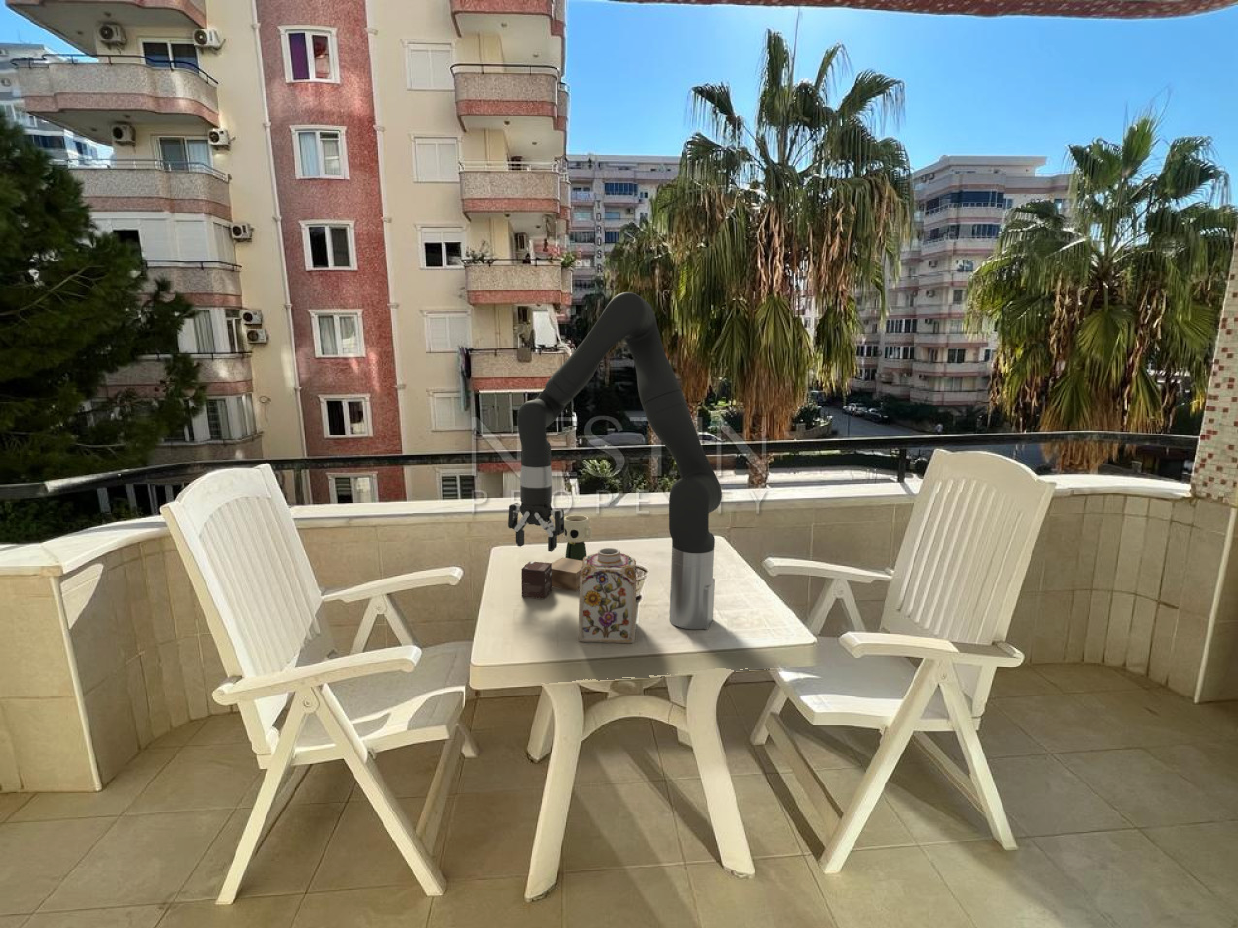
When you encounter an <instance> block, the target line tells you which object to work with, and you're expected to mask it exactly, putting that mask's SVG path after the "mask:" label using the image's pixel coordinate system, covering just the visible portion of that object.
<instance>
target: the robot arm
mask: <svg viewBox="0 0 1238 928" xmlns="http://www.w3.org/2000/svg"><path fill="white" fill-rule="evenodd" d="M623 339H624V342H625V343H626V346H627V348H628V350H629V352H630V354H631V357H632V359H633V363H634V366H635V372H636V381H637V390H638V395H639V396H638V397H639V400H640V403H641V406H642V409H643V411H644V414H645V418H646V419H647V423H648V424H649V426H650V428H651V430H652V431H653V433H655V436H657V438H658V439H659V440H660V441H661V444H663V445H664V446H665V448H666V449H667V451H668V452H669V453H670V455H671V456H672V458H673V460H674V461H675V465H676V466H677V469H678V472H679V475H680V478H679V479H678V480H676V481H675V482H674V483H673V485H672V487H671V488H670V492H669V498H668V529H669V535H670V537H671V565H670V567H671V569H670V591H669V592H670V593H669V594H670V595H669V613H668V614H669V619H668V620H669V621H670V623H671V624H672V625H674V626H675V627H679V628H682V629H687V630H700V629H701V630H708V628H709V627H710V625H711V623H712V622H713V619H714V606H715V583H716V579H715V578H714V564H715V563H714V562H715V561H714V560H715V558H714V557H715V547H716V546H715V545H716V544H715V543H716V541H715V540H716V539H715V538H716V537H715V535H714V534H713V533H711V532H710V530H709V526H710V524H709V519H710V518H709V517H710V516H709V514H710V513H712V512H714V511H716V510H717V509H718V508H719V506H721V502H722V500H723V499H722V498H723V491H722V486H721V483H720V481H719V479H718V476H717V475H716V473H715V471H714V469H713V467H712V465H711V463H710V461H709V459H708V457H707V455H706V453H705V450H704V448H703V446H702V444H701V440H700V437H699V435H698V434H699V433H698V432H697V429H696V427H695V424H694V421H693V419H692V416H691V413H690V410H689V407H688V404H687V401H686V399H685V396H684V393H683V391H682V389H681V385H680V384H679V382H678V379H677V376H676V374H675V372H674V370H673V367H672V366H671V362H670V361H669V359H668V356H667V355H666V352H665V349H664V346H663V343H662V339H661V335H660V331H659V328H658V323H657V320H656V316H655V312H654V310H653V308H652V306H651V305H650V303H649V302H648V301H647V300H645V299H644V298H643V297H641V296H640V295H639V294H638V293H634V292H631V291H625V292H623V291H622V292H620V293H618V294H616V295H615V296H614V297H613V298H612V299H611V300H610V301H609V303H608V304H607V306H606V307H605V309H604V310H603V312H602V313H601V314H600V316H599V318H598V319H597V321H596V322H595V324H594V325H593V326H592V328H591V329H590V331H588V333H587V335H586V336H585V337H584V339H583V340H582V342H581V343H580V344H579V345H578V346H577V348H576V349H575V350H574V351H573V353H572V354H571V355H569V357H567V359H566V360H565V361H564V362H563V364H561V366H559V368H558V369H556V371H555V372H554V373H553V374H552V376H550V378H549V379H548V380H547V381H546V383H545V386H544V387H545V388H544V389H543V390H542V391H541V393H539V395H538V396H537V397H536V398H535V399H532V400H528V401H525V402H524V403H522V404H521V406H520V407H519V409H518V412H517V416H516V417H517V418H516V419H517V420H516V421H517V422H516V423H517V431H518V436H519V441H520V445H521V467H520V474H519V475H520V479H519V480H520V481H519V482H520V483H519V484H520V485H519V486H520V492H519V495H520V499H519V501H520V502H521V503H520V504H519V503H518V502H514V503H511V504H510V505H509V506H508V518H507V526H508V529H513V530H514V531H515V544H516V546H517V547H520V548H521V547H523V546H524V545H525V530H524V528H525V527H526V526H527V525H530V526H531V525H535V526H541V527H542V529H543V530H545V532H546V533H547V534H548V536H547V538H548V539H547V543H548V546H547V550H548V552H554V551H555V549H557V547H558V546H557V545H558V544H557V543H558V536H560V535H562V534H563V533H564V531H565V529H564V518H565V512H564V511H565V510H564V508H560V509H553V507H552V501H553V470H552V445H551V443H550V442H549V441H548V440H547V438H548V437H547V427H549V426H550V425H552V424H553V423H554V421H556V420H557V418H558V417H559V416H560V415H561V413H562V412H563V411H564V409H565V408H566V406H567V405H568V404H569V403H570V402H571V401H572V400H574V398H575V397H577V395H578V394H579V393H580V392H581V391H582V390H583V389H584V388H585V387H586V385H587V384H588V383H589V382H590V380H591V379H592V378H593V376H594V374H595V373H596V371H597V369H598V368H599V366H600V364H601V362H602V361H603V360H604V358H605V357H606V355H607V354H608V353H609V352H610V351H611V349H613V348H614V346H616V345H617V344H618V343H619V342H620V341H623ZM519 513H521V515H522V517H521V518H520V519H519ZM551 516H552V518H553V519H554V521H553V519H552V518H551ZM518 520H519V521H518Z"/></svg>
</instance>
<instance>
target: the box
mask: <svg viewBox="0 0 1238 928" xmlns="http://www.w3.org/2000/svg"><path fill="white" fill-rule="evenodd" d="M552 563H553V562H543V561H540V562H539V561H529V562H528V563H526V564H525V565H524V566H523V567H521V575H520V577H521V598H526V599H527V598H528V599H539V600H545V599H546V598H547V597H548V596H549V595H550V594H551V593H552V591H553V587H552Z"/></svg>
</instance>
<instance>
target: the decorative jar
mask: <svg viewBox="0 0 1238 928" xmlns="http://www.w3.org/2000/svg"><path fill="white" fill-rule="evenodd" d="M636 566H637V561H636V559H635V558H633V557H632V556H630V555H628V554H625V553H621V550H619V549H618V548H613V547H607V548H606V547H605V548H602V549H601V548H600V549H599V550H598V551H597V553H593V554H589V555H586V557H584V558H583V560H582V567H581V569H582V570H581V573H580V579H579V580H580V589H579V601H578V602H579V609H578V641H579V642H581V643H606V644H607V643H608V644H634V643H635V640H636V638H635V637H636V635H635V633H636V618H637V617H636V613H637V612H636V609H637V608H636V607H637V606H636V605H637V568H636Z"/></svg>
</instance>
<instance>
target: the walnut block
mask: <svg viewBox="0 0 1238 928" xmlns="http://www.w3.org/2000/svg"><path fill="white" fill-rule="evenodd" d="M551 563H552V588H556V589H557V588H558V589H562V590H567V591H572V592H577V591H578V590H580V580H579V579H580V573H581V570H582V569H581V567H582V561H581V560H575V559H569V558H565V557H563V556H561V557H560V558H557V560H555V561H554V562H551Z"/></svg>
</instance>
